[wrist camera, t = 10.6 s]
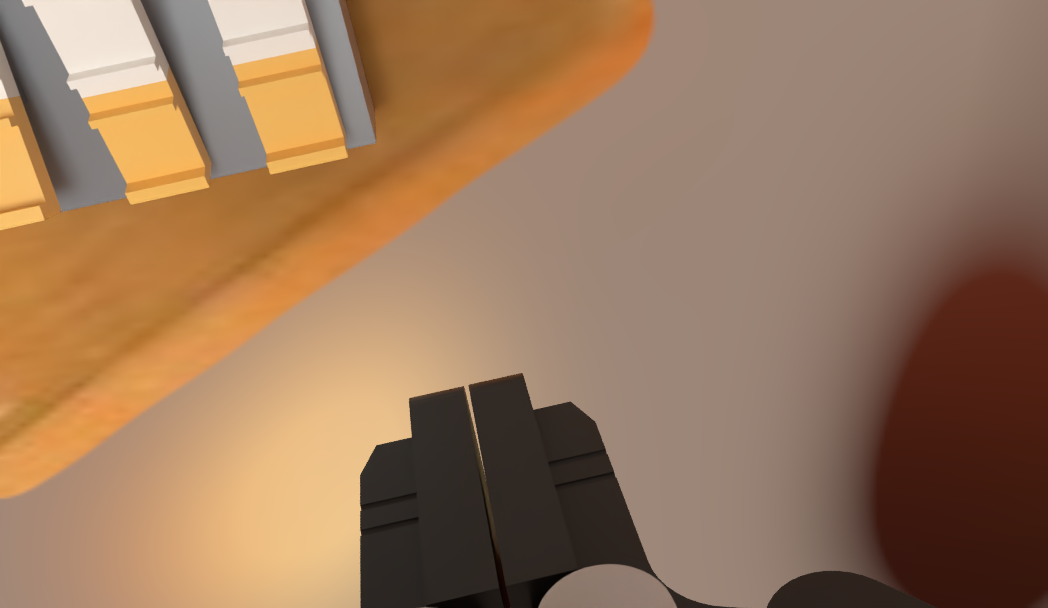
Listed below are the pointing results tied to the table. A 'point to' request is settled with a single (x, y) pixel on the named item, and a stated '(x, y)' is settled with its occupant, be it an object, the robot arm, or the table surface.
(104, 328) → the table surface
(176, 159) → the switch middle
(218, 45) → the switch panel
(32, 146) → the switch
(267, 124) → the switch
